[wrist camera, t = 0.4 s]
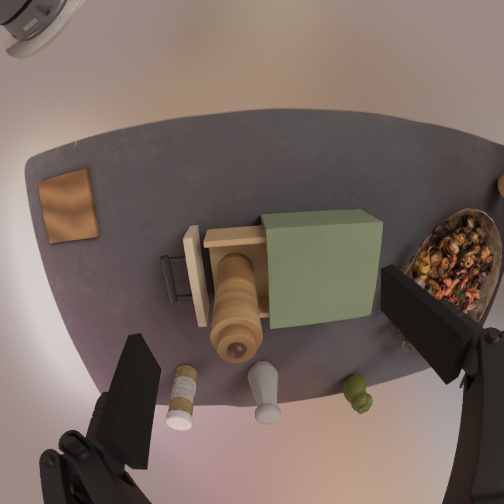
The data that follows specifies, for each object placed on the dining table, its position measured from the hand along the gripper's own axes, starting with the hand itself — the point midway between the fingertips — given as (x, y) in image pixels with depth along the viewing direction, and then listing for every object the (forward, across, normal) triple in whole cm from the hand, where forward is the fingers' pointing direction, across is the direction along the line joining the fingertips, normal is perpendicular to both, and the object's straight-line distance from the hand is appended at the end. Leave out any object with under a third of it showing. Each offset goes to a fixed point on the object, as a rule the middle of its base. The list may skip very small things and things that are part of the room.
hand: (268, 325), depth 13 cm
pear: (+26, +16, -42) cm, 52 cm away
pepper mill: (+26, -2, -8) cm, 27 cm away
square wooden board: (+29, -26, +8) cm, 40 cm away
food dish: (+25, +41, -24) cm, 54 cm away
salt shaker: (+28, -3, -31) cm, 42 cm away
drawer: (+27, -3, -8) cm, 28 cm away
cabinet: (+27, +10, -10) cm, 30 cm away
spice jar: (+29, -17, -29) cm, 44 cm away
